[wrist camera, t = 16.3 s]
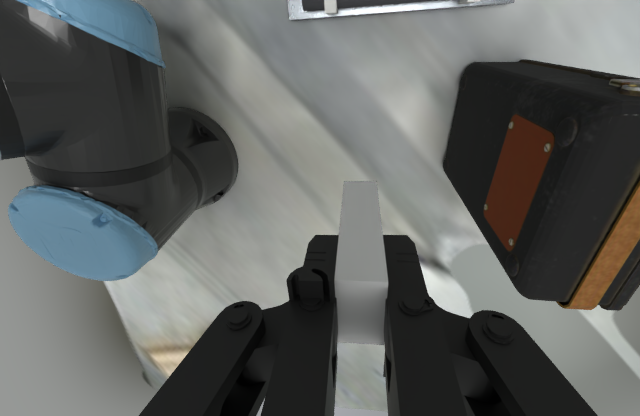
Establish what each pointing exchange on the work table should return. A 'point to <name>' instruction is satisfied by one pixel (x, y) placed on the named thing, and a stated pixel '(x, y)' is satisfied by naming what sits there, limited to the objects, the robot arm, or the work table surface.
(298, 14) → the panel
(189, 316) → the work table surface
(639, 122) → the voltmeter
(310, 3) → the pair of dark rods
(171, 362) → the work table surface
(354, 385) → the work table surface
